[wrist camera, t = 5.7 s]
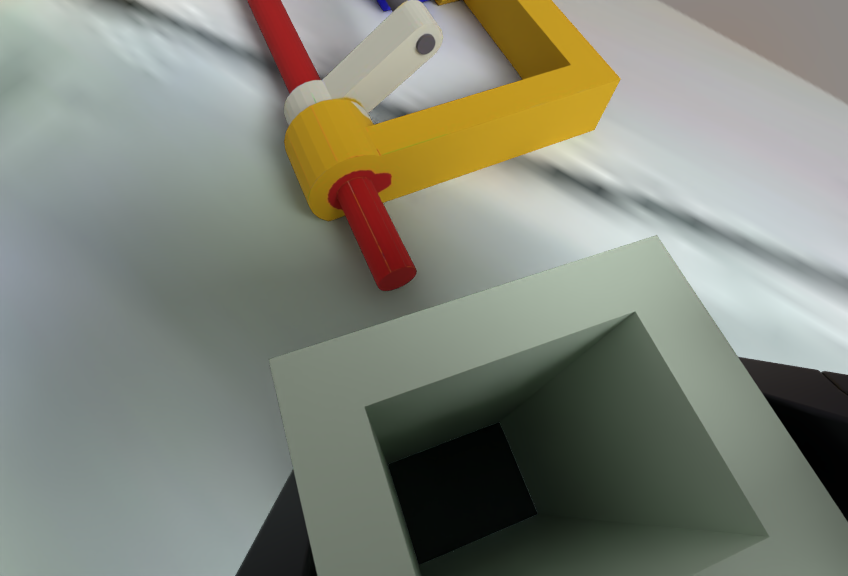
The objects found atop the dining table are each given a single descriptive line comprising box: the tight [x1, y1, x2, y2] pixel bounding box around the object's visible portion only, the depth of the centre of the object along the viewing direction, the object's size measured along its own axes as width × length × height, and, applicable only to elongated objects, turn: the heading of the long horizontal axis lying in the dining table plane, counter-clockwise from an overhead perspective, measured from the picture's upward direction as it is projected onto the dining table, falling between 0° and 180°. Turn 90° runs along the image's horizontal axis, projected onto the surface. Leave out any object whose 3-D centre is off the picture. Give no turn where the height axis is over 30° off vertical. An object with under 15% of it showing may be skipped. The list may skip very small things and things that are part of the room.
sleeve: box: [269, 235, 848, 576], centre depth 10 cm, size 5×6×10 cm
